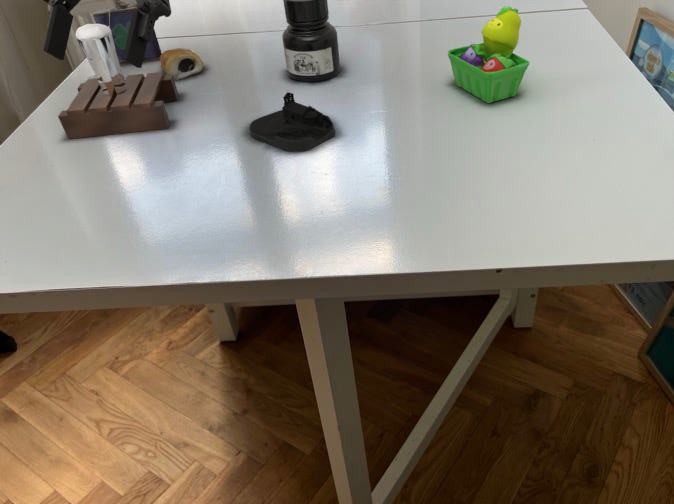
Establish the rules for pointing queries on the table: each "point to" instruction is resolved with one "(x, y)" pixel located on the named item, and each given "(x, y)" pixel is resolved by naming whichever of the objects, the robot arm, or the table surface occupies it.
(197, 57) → the pastry
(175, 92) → the rack
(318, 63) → the ink bottle
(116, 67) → the milkshake
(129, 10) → the flask
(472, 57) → the fruit basket
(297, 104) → the black miniature model
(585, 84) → the table surface
